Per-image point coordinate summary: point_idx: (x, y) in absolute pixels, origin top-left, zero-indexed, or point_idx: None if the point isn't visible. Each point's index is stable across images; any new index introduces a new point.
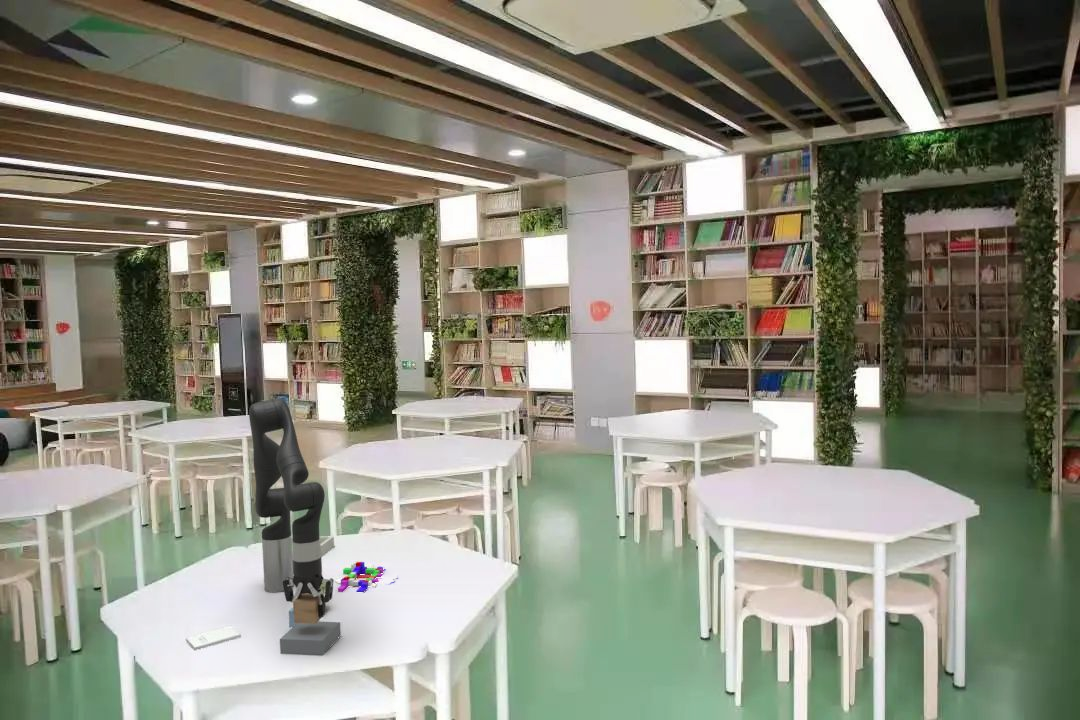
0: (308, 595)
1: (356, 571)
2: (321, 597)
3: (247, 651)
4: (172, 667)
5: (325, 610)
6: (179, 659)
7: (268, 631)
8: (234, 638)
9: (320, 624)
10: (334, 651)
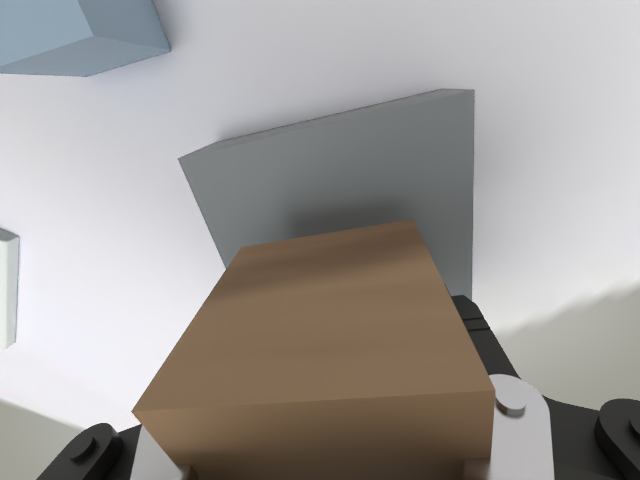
0: (277, 457)
1: None
2: (498, 455)
3: (158, 317)
4: (80, 410)
5: (482, 318)
6: (45, 382)
7: (50, 156)
8: (16, 256)
9: (347, 170)
10: (484, 250)
